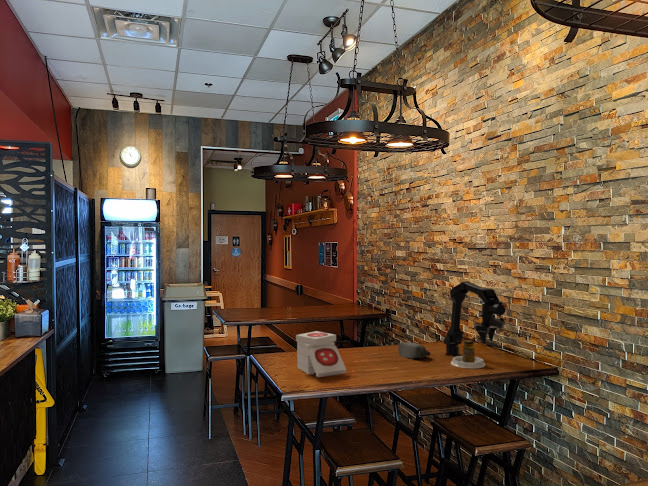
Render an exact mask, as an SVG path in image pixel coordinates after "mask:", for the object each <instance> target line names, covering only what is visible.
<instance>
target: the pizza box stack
mask: <svg viewBox="0 0 648 486" xmlns="http://www.w3.org/2000/svg"><path fill="white" fill-rule="evenodd" d="M295 341H296V342H297V343H296V345H297V346H296V349H297V352H296V353H297V357H296V358H297V361H296V362H297V369H299V370H300V369H301V370H300V371H302V372H303V371H304V372H303V373H305V372H306V373H305V374H307V375H308V374H309V375H314V373H316V374H315V376H316V377H317V378H321V377H323V378H324V377H330V376H336V375H337V376H338V375H345V373H346V371H347V368H346V365H345V364H344V361H343V359H342V356H341V354H340V352H339V349H338V347H337V346H336V345H335V344H336V343H335V342H337V334H334V333H328V332H323V331H318V330H315V331H311V332H305V333H300V334H296V335H295Z"/></svg>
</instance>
